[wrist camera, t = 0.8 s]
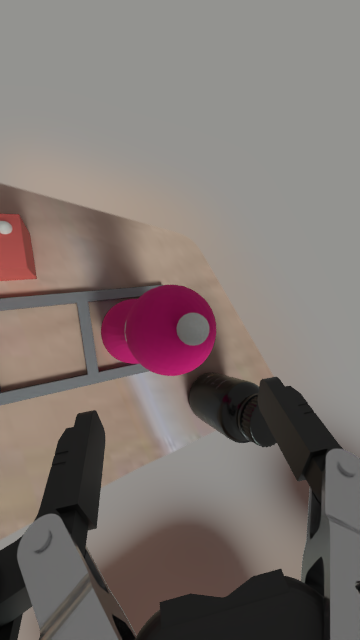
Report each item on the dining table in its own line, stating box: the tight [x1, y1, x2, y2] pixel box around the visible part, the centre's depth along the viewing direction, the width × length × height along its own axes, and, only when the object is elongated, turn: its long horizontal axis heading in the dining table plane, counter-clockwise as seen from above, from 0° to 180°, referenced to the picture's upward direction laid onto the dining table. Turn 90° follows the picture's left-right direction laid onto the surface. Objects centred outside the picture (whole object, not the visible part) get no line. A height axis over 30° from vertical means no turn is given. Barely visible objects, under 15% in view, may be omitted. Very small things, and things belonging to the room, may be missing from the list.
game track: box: [0, 285, 163, 405], centre depth 26 cm, size 31×11×1 cm, turn 99°
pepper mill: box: [101, 285, 216, 376], centre depth 21 cm, size 7×7×20 cm
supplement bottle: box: [189, 373, 277, 447], centre depth 29 cm, size 7×7×12 cm
